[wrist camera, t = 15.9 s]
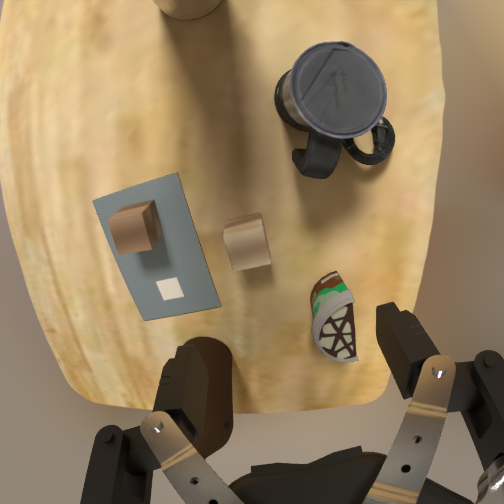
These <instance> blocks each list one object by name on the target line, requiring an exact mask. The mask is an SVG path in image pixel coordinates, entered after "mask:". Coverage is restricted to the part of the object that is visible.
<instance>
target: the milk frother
mask: <svg viewBox="0 0 504 504" xmlns="http://www.w3.org/2000/svg"><path fill="white" fill-rule="evenodd" d="M274 100H275V105H276V108H277V111H278V113H279V114H280V116H281V117H282V119H283V120H284V121H285V122H286V123H288V124H289V125H290V126H292V127H294V128H296V129H298V130H301V131H304V132H308V133H309V137H308V143H307V148H306V149H294V150H293V152H292V160H293V162H294V164H295V165H296V167H297V169H298V170H299V172H300V173H301V174H302V175H304V176H307V177H311V178H317V179H326V178H328V177H329V176H330V175H331V174H332V173H333V171H334V169H335V167H336V165H337V162H338V160H339V156H340V153H341V149H342V145H343V146H344V147H345V149H346V150H347V151H348V153H349V154H350V155H351V156H352V157H353V158H354V159H355V160H356V161H358V162H360V163H362V164H365V165H375V164H378V163H379V162H381V161H383V160H384V159H385V158H387V157H388V155H389V154H390V152H391V151H392V149H393V147H394V143H395V133H394V129H393V127H392V125H391V124H390V122H389V121H388V120H387V119H386V118H385V117H383V116H382V115H383V113H384V110H385V107H386V100H387V89H386V83H385V80H384V77H383V75H382V73H381V71H380V69H379V68H378V66H377V64H376V63H375V62H374V61H373V60H372V59H371V58H370V57H369V56H368V55H367V54H366V53H364V52H363V51H362V50H360V49H358V48H356V47H355V46H354V45H352V44H350V43H347V42H343V41H339V42H323V43H319V44H316V45H314V46H312V47H310V48H308V49H307V50H305V51H304V52H303V53H302V54H301V55H300V56H299V58H298V59H297V60H296V61H295V63H294V66H293V68H292V69H291V70H289V71H288V72H286V73H285V74H284V75H283V76H282V77H281V78H280V80H279V81H278V83H277V86H276V89H275V96H274ZM377 123H378V124H377ZM369 130H371V131H373V137H374V144H375V152H374V153H373V154H366V153H364V152H362V151H361V150H360V149H358V147H357V146H356V144H355V142H354V139H353V138H354V137H358V136H361V135H363V134H364V133H366V132H368V131H369ZM386 134H387V137H386V143H385V135H386ZM383 144H384V146H383Z"/></svg>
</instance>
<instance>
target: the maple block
mask: <svg viewBox="0 0 504 504" xmlns="http://www.w3.org/2000/svg"><path fill="white" fill-rule="evenodd" d="M223 239H224V242H225V245H226V248H227V252H228V255H229V258H230V261H231V265H232V268H233V271H234V272H236V271H241V270H245V269H249V268H254V267H258V266H263V265H267V264H271V257H270V251H269V245H268V241H267V237H266V233H265V229H264V225H263V221H262V217H261V213H258V214H254V215H250V216H246V217H242V218H238V219H233V220H229V221H226V224H225V229H224V235H223Z"/></svg>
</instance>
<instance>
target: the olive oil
mask: <svg viewBox="0 0 504 504" xmlns="http://www.w3.org/2000/svg"><path fill="white" fill-rule="evenodd" d="M191 344H195V345H196V346H197V348H198V350H199V353H200V355H201V357H202V359H203V361H204V363H205V365H206V367H207V371H208V390H207V400H206V411H205V422H204V433H203V439H195V440H194V448H195V449H196V450H197V451H198V452H199V454H200V455H201V456H202V457H203V458H204V460H205V459H206V458H207V457H208V456H210V455H211V454H213V453H214V452H216V451H217V450H219V449H220V448H222V447H223V446H224V445H225V444H226V443H227V442H228V440H229V438H230V436H231V433H232V429H233V403H232V355H231V352H230V350H229V348H228V347H227V346H226V345H225V344H224V343H222V342H221V341H219V340H217V339H214V338H210V337H196V338H193V339H190V340H188V341H187V342H186V343H185V344H184V345H191ZM184 345H183V346H184Z"/></svg>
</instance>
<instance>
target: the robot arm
mask: <svg viewBox="0 0 504 504" xmlns="http://www.w3.org/2000/svg"><path fill="white" fill-rule="evenodd" d="M153 1H154V2H155V3H156V5H157V6H158V7H159V8H160V9H161V10H162V11H163V12H164V13H165V14H166V15H168V16H170V17H172V18H175V19H180V20H191V19H196V18H200V17H202V16H205V15H207V14H208V13H210V12H212V11H213V10H214V9H215V8H216V7H217V6H218V5H219V4H220V2H221V0H153ZM376 337H377V341H378V344H379V347H380V349H381V351H382V353H383V355H384V357H385V359H386V361H387V364H388V366H389V368H390V370H391V372H392V374H393V377H394V379H395V381H396V383H397V385H398V388H399V390H400V392H401V394H402V397H403V399H407V398H410V397H412V400H411V403H410V405H409V406H408V408H407V411H406V413H405V416H404V418H403V421H402V424H401V426H400V429H399V431H398V433H397V436H396V438H395V440H394V443H393V445H392V447H391V449H390V452H389V454H388V456H387V455H385V454H381V453H376V452H362V449H361V446H357V447H353V448H350V449H345V450H341V451H338V452H334V453H331V454H329V455H327V456H325V457H323V458H320V459H318V460H316V461H313V462H311V463H309V464H289V463H273V464H265V465H257V466H251V473H249V474H246V475H244V476H242V477H240V478H239V479H237V480H235V481H234V482H232V483H231V484H230V485H229V486H227V484H226V483H225V482H224V481H223V480H222V479H221V478H220V477H219V476H218V475H217V473H216V472H215V471H214V470H213V469H212V468H211V467H210V466H209V464H208V463H207V462H206V461H205V460H204V458H203V457H202V456H201V455H200V454H199V452H198V451H197V450H196V449H195V448H194V440H195V439H203V433H204V422H205V411H206V400H207V390H208V371H207V367H206V365H205V363H204V361H203V359H202V357H201V355H200V353H199V350H198V348H197V346H196V345H195V344H191V345H184V346H178V348H177V351H176V355H175V358H172V359H169V360H168V361H167V363H166V364H165V366H164V367H163V370H162V374H161V378H160V382H159V386H158V391H157V395H156V399H155V403H154V408H153V412H152V413H150V414H148V415H147V416H146V417H145V418H144V419H143V420H142V422H141V424H140V426H137V427H134V428H130V429H127V430H124V431H122V430H121V429H120V428H119V427H118V426H115V425H108V426H105V427H103V428H102V429H100V430H99V432H98V433H97V435H96V437H95V440H94V444H93V448H92V453H91V457H90V461H89V465H88V469H87V474H86V479H85V483H84V488H83V493H82V497H81V502H80V504H150V499H151V488H152V477H153V470H156V469H159V468H161V469H162V471H163V473H164V474H165V476H166V477H167V479H168V480H169V482H170V483H171V484H172V486H173V487H174V489H175V490H176V491H177V493H178V494H179V495H180V497H181V498H182V500H183V501H184V502H185V504H474V503H473V502H472V501H471V500H469V499H467V498H465V497H463V496H461V495H459V494H457V493H455V492H453V491H451V490H449V489H447V488H445V487H444V486H442V485H440V484H438V483H436V482H434V481H432V480H430V479H429V478H427V477H426V476H427V474H428V471H429V469H430V466H431V463H432V460H433V458H434V454H435V451H436V449H437V446H438V443H439V440H440V437H441V433H442V430H443V427H444V423H445V420H446V416H447V413H448V412H457V411H461V414H462V416H463V418H464V421H465V423H466V425H467V428H468V430H469V432H470V435H471V437H472V440H473V442H474V445H475V447H476V450H477V452H478V455H479V458H480V460H481V463H482V466H483V469H484V473H483V474H482V475H481V476H480V478H479V481H478V485H477V488H478V498H477V501H476V503H475V504H504V359H503V358H502V356H501V355H500V354H498V353H497V352H495V351H491V350H485V351H482V352H480V353H479V354H478V355H477V356H476V357H475V360H474V361H470V362H459V363H457V362H453V360H452V359H450V358H449V357H447V356H444V355H441V354H440V353H439V351H438V350H437V348H436V347H435V345H434V343H433V342H432V340H431V339H430V337H429V336H428V334H427V333H426V332H425V330H424V328H423V327H422V325H421V324H420V322H419V321H418V319H417V318H416V316H415V315H413V314H412V313H410V312H409V311H407V310H404V311H401V312H400V311H399V309H398V308H397V306H396V304H395V303H394V302H390V303H386V304H383V305H379V306H377V308H376Z"/></svg>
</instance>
